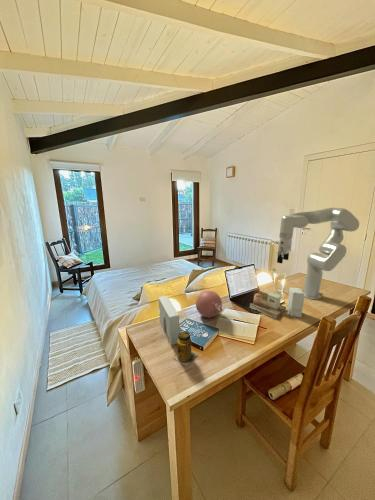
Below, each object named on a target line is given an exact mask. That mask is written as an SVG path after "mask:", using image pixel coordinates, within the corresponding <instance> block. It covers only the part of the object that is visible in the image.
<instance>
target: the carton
mask: <svg viewBox="0 0 375 500" xmlns="http://www.w3.org/2000/svg"><path fill="white" fill-rule="evenodd" d="M281 299H282V295H279V294H276V293H274V292H268V294H267V297H266V300H267V304H266V306H267V307H270V308H273V309H275V310H277V309H278V308H279V307H280V305H281Z"/></svg>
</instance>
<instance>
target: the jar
mask: <svg viewBox="0 0 375 500" xmlns="http://www.w3.org/2000/svg"><path fill="white" fill-rule="evenodd" d="M262 298H263V297H262V294H261V293H258V292H257V293H254V296H253V302H252V303H253V304H254V305H256V306H260V305H261V299H262Z"/></svg>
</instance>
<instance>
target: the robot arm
mask: <svg viewBox="0 0 375 500" xmlns="http://www.w3.org/2000/svg"><path fill="white" fill-rule="evenodd" d="M328 222H330V233H329V234H328V236H327V237H326V238H325V239H324V241H323V242H322V243H321V244H320V245H319V248H318V251H319V252H312V253H310V254H308V255H307V258H306V262H307V263H306V264H307V265H306V266H307V268H306V275H305V281H304V285H303V290H302V291H303V292H304V298H307V299H310V300H319V299H322V298H321V297H322V296H321V294H320V290H321V285H322V284H321V283H322V279H323V272H324V271H325V272H331V271H332V270H334V269H335V268H336V267H337V266H338V264H339V263H340V262H341V261H342V260H343V259H344V257H345V256H346V255H347V247H346V246H345V245H344V244H342V242H343V240H344V238H345V237H344V231H345V232H356V231H357V230H358V229H359V227H360V221H359V220H358V218H357V217H356V216H355V215H354V214H353V213H352V212H351V211H349V210H348V209H346V208H343V207H342V208H341V207H328V208H323V209H318V210H311V211H302V212H296V213H290V214H289V215H282V217H281V221H280V230H279V236H278V237H279V240H278V241H279V242H278V249H277V259H276V263H277V264H283V262H284V261H283V260H285V261H289V256H290V253H291V251H292V240H293V237H294V235H293V234H294V228H296V229H297V228H298V229H304V228H306V227H307V226H308V225H309V224H311V225H317V224H323V223H328Z"/></svg>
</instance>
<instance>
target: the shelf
mask: <svg viewBox="0 0 375 500" xmlns="http://www.w3.org/2000/svg"><path fill="white" fill-rule="evenodd" d="M266 304H267V298H263V297H262V299H261V305H260V306H256V305H254V304H253V302H252V303H249V309H250V308H251V310H253V309H254V310H253V311H255V310H257V311H259V312H258V313H260V312H261V313H260V314H262V315H265V316H268V317H270V318H272V319H275V320H277V319H278V318H279V317H280V316H281V315H282V314H283V313H284V312H285V311H286V310H287V306H285V305H281V304H280V307H279V308H278V309H277V310H275V309H273V308H270V307H267V306H266ZM257 311H256V312H257Z"/></svg>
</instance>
